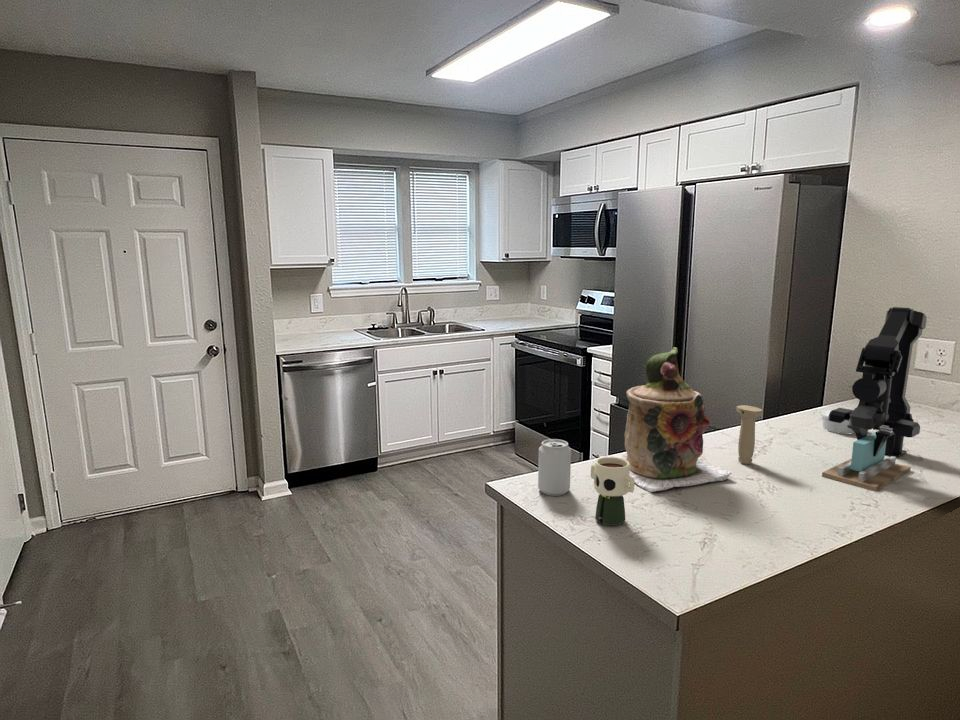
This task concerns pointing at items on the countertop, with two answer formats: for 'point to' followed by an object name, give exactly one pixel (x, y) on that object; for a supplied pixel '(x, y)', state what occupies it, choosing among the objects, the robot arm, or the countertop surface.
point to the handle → (747, 432)
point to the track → (868, 473)
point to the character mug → (611, 488)
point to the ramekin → (834, 424)
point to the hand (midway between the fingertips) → (868, 454)
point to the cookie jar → (666, 430)
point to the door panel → (866, 453)
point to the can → (554, 467)
